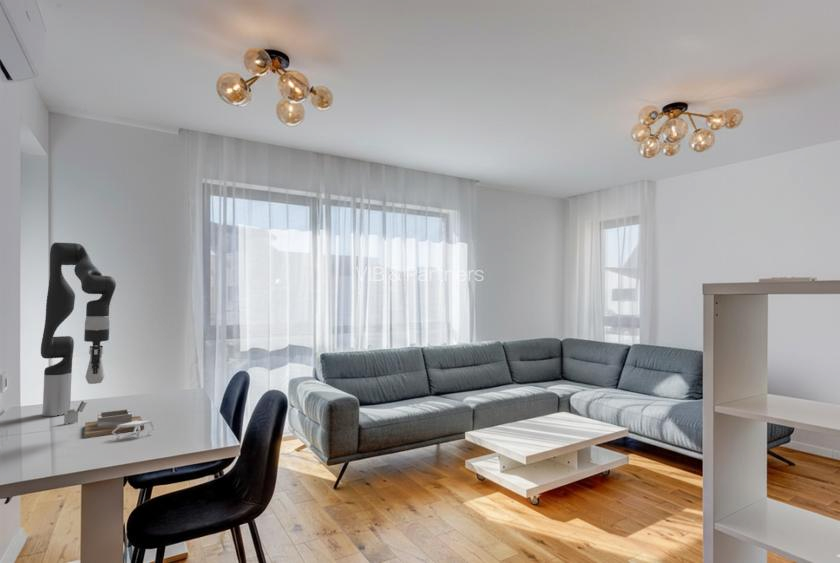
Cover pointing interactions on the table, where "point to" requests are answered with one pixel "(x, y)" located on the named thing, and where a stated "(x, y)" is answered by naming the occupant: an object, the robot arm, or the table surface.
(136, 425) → the white bent open piece
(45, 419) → the table surface
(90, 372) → the salt shaker
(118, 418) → the wooden base with frame
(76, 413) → the lighter
